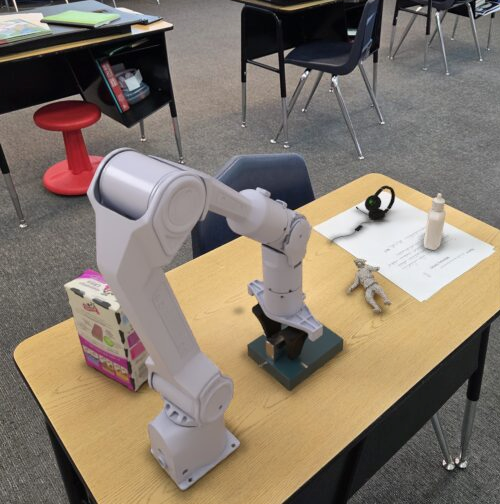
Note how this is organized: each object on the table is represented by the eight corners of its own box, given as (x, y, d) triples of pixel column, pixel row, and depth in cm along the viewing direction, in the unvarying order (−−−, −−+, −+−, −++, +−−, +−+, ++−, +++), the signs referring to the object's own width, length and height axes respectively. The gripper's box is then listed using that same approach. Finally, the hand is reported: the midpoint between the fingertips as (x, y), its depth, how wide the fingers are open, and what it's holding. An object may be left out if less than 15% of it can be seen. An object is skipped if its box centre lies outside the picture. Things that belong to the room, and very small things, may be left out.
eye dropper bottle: (415, 243, 115) (422, 194, 108) (432, 233, 118) (440, 185, 111) (431, 252, 112) (439, 203, 106) (448, 242, 115) (457, 194, 109)
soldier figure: (360, 321, 96) (332, 268, 103) (373, 325, 100) (345, 273, 107) (394, 296, 94) (363, 243, 101) (406, 301, 97) (375, 249, 104)
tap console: (282, 398, 81) (282, 386, 80) (239, 360, 87) (238, 348, 86) (343, 350, 89) (344, 338, 88) (300, 319, 95) (300, 307, 94)
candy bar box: (158, 371, 85) (143, 291, 77) (135, 393, 82) (116, 312, 73) (109, 344, 90) (89, 266, 82) (84, 364, 87) (61, 284, 78)
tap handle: (273, 363, 83) (273, 345, 82) (266, 356, 85) (265, 339, 83) (301, 342, 87) (301, 325, 85) (294, 337, 88) (293, 320, 86)
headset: (321, 249, 123) (379, 193, 129) (343, 263, 118) (402, 204, 124) (312, 229, 118) (372, 173, 125) (334, 243, 113) (396, 183, 120)
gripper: (338, 291, 76) (335, 359, 83) (270, 248, 85) (272, 312, 92) (302, 316, 72) (302, 385, 79) (234, 267, 81) (240, 333, 88)
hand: (284, 347), depth 86 cm, fingers open, 4 cm apart
